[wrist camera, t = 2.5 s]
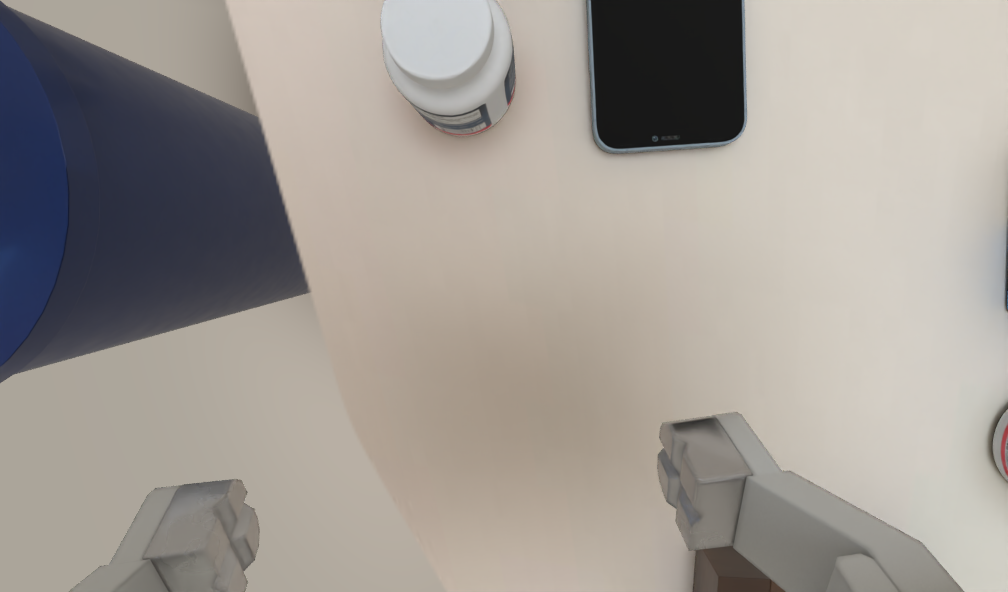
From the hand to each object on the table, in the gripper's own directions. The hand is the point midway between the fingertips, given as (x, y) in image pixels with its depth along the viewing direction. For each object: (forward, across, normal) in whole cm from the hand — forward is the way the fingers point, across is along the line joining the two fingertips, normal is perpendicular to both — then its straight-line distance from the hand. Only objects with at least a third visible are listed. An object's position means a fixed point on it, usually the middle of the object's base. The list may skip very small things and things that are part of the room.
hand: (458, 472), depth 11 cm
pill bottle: (+23, -2, -4) cm, 23 cm away
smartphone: (+23, -12, -7) cm, 26 cm away
